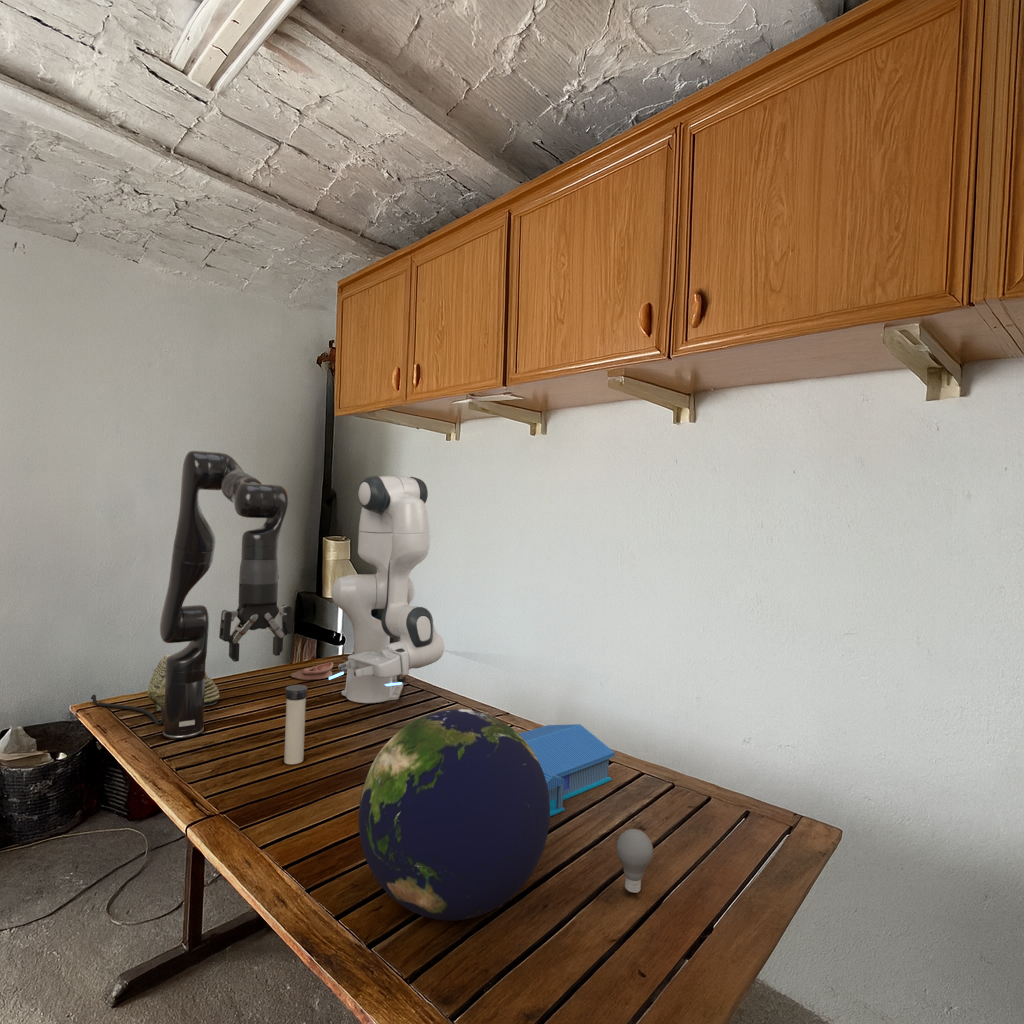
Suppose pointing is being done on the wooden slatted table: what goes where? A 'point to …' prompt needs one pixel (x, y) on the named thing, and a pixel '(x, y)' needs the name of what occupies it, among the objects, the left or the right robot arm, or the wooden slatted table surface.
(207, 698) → the fossil
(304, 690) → the lid
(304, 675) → the anatomical model
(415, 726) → the globe
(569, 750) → the model building
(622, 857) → the light bulb
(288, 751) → the beige tall cylinder
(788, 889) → the wooden slatted table surface
